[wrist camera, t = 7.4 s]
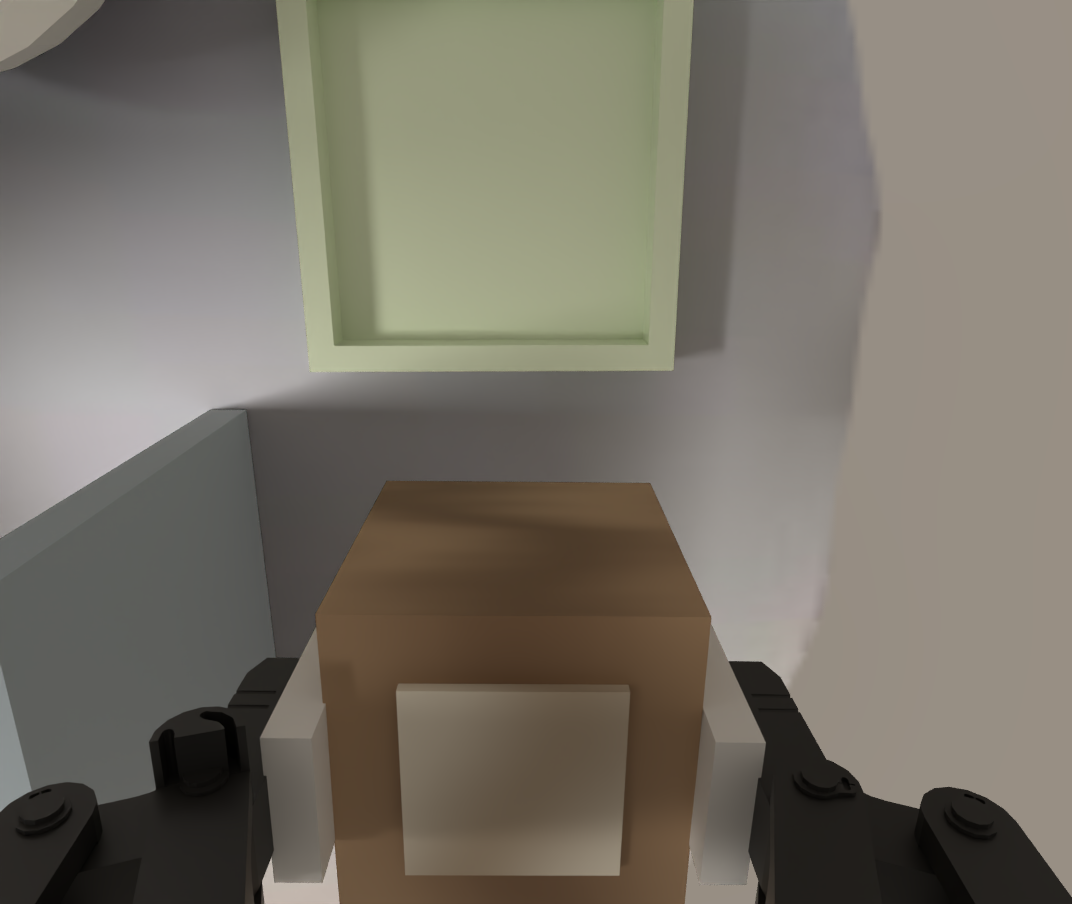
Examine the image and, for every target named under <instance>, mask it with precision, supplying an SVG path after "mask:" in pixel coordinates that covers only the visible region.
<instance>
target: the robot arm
mask: <svg viewBox="0 0 1072 904" xmlns="http://www.w3.org/2000/svg"><path fill="white" fill-rule="evenodd" d="M149 748H150V754H151V761H152V767H153V774H154V780H155V787H156V790H154V791H152V792H150V793H147V794H143V795H140V796H136V797H132V798H128V799H123V800H119V801H114V802H109V803H105V804H100V805H98V803H97V798H96V795H95V792H94V790H93V789H91V788H90V787H88V786H86V785H85V784H82V783H73V782H64V783H58V784H51V785H47V786H44V787H41V788H39V789H36V790H33V791H31V792H28V793H26V794H24V795H23V796H21V797H19V798H18V799H16V800H14V801H13V802H11V803H9V804H8V805H7V806H6V807H5V808H4V809H3V810H2V811H1V812H0V904H264V896H263V886H262V880H263V877H264V875H265V872H266V870H267V867H268V864H269V862H270V859H271V857H272V864H273V874H274V882H287V883H322V882H323V879H324V876H325V872H326V869H327V866H328V862H329V859H330V856H331V852H332V849H333V846H334V843H335V832H334V818H333V803H332V789H331V775H330V760H329V746H328V732H327V717H326V703H323V701H322V690H321V678H320V666H319V655H318V643H317V631H316V628H315V630H314V632H313V634H312V636H311V638H310V640H309V642H308V644H307V646H306V648H305V649H304V651H303V653H302V655H301V657H300V658H266V659H265V660H263V661H262V662H261V663H259V664H258V665H257V666H255V667H254V668H253V669H251V670H250V671H249V672H248V673H247V674H246V675H245V677H244V679H243V680H242V682H241V684H240V685H239V687H238V689H237V690H236V694H234V695H233V697H232V699H231V700H230V702H229V704H228V708H224V707H220V706H215V707H201V708H197V709H193V710H189V711H186V712H183V713H181V714H179V715H177V716H175V717H173V718H171V719H169V720H167V721H166V722H165V723H163V724H162V725H161V726H160V727H159V728H158V729H156V730H155V732H154V733H153V735H152V737H151V739H150V741H149ZM689 847H690V850H691V854H692V858H693V862H694V866H695V869H696V873H697V877H698V881H699V884H700V885H701V884H702V885H746V883H747V876H748V869H749V861H750V858H751V861H752V864H753V866H754V869H755V872H756V875H757V878H758V881H759V882H758V887H757V894H756V901H755V904H1072V897H1071V896H1070V894H1069V893H1068V892H1067V890H1066V889H1065V888H1064V886H1063V885H1062V883H1061V882H1060V881H1059V879H1058V878H1057V877H1056V875H1055V874H1054V872H1053V871H1052V870H1051V868H1050V867H1049V866H1048V864H1047V863H1046V862H1045V860H1044V859H1043V857H1042V856H1041V855H1040V853H1039V852H1038V851H1037V849H1036V848H1035V847H1034V845H1033V844H1032V842H1031V841H1030V840H1029V839H1028V837H1027V836H1026V834H1025V833H1024V831H1023V830H1022V829H1021V827H1020V826H1019V825H1018V823H1017V822H1016V821H1015V820H1014V819H1013V818H1012V817H1011V816H1010V815H1009V814H1008V813H1007V812H1006V811H1005V810H1004V809H1003V808H1001V807H1000V806H998V805H997V804H995V803H994V802H992V801H990V800H989V799H987V798H985V797H983V796H981V795H978V794H976V793H973V792H970V791H968V790H963V789H957V788H952V787H943V788H934V789H932V790H930V791H929V792H927V793H925V794H924V796H923V799H922V801H921V804H920V809H917V808H913V807H909V806H905V805H900V804H896V803H892V802H888V801H884V800H881V799H878V798H875V797H871V796H869V795H867V794H865V793H863V790H862V788H861V786H860V784H859V782H858V781H857V780H856V779H855V778H854V777H853V775H851V773H849V771H847V770H846V769H844V768H843V767H841V766H839V765H837V764H836V763H834V762H832V761H829V760H826V758H825V756H824V755H823V753H822V751H821V749H820V747H819V746H818V744H817V742H816V740H815V738H814V737H813V735H812V733H811V731H810V729H809V728H808V726H807V724H806V722H805V721H804V719H803V717H802V715H801V713H798V708H797V706H796V704H795V703H794V701H793V699H792V698H790V694H789V692H788V690H787V688H786V686H785V685H784V683H783V681H782V679H781V677H780V676H778V675H777V674H776V673H775V672H773V671H772V670H771V669H770V668H768V667H767V666H766V665H765V664H764V663H762V662H743V661H728V659H727V657H726V655H725V653H724V651H723V649H722V646H721V644H720V642H719V640H718V638H717V636H716V633H715V631H714V629H713V627H712V625H711V626H710V637H709V647H708V658H707V669H706V679H705V690H704V701H703V712H702V722H701V733H700V744H699V754H698V765H697V775H696V784H695V794H694V803H693V812H692V821H691V831H690V840H689Z"/></svg>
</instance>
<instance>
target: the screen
mask: <svg viewBox="0 0 1072 904" xmlns="http://www.w3.org/2000/svg"><path fill="white" fill-rule="evenodd" d="M266 658H276V654H275V646H274V638H273V629H272V621H271V612H270V604H269V596H268V587H267V579H266V571H265V562H264V554H263V545H262V537H261V529H260V520H259V512H258V504H257V495H256V487H255V479H254V470H253V462H252V453H251V445H250V437H249V428H248V420H247V412H246V410H209V411H207V412H206V413H204V414H202V415H201V416H199V417H197V418H196V419H194V420H193V421H191V422H189V423H188V424H186V425H184V426H183V427H181V428H180V429H178V430H176V431H175V432H173V433H171V434H170V435H168V436H167V437H165V438H163V439H162V440H160V441H158V442H157V443H155V444H154V445H152V446H150V447H149V448H147V449H145V450H144V451H142V452H140V453H139V454H137V455H136V456H134V457H132V458H131V459H129V460H127V461H126V462H124V463H123V464H121V465H119V466H118V467H116V468H114V469H113V470H111V471H110V472H108V473H106V474H105V475H103V476H101V477H100V478H98V479H97V480H95V481H93V482H92V483H90V484H88V485H87V486H85V487H84V488H82V489H80V490H79V491H77V492H75V493H74V494H72V495H71V496H69V497H67V498H66V499H64V500H62V501H61V502H59V503H57V504H56V505H54V506H53V507H51V508H49V509H48V510H46V511H44V512H43V513H41V514H40V515H38V516H36V517H35V518H33V519H31V520H30V521H28V522H27V523H25V524H23V525H22V526H20V527H18V528H17V529H15V530H14V531H12V532H10V533H9V534H7V535H5V536H4V537H2V538H1V539H0V812H1V811H2V810H3V809H4V808H5V807H6V806H7V805H8V804H9V803H11V802H13V801H14V800H16V799H18V798H19V797H21V796H23V795H24V794H26V793H28V792H31V791H33V790H36V789H39V788H41V787H44V786H47V785H51V784H58V783H64V782H73V783H82V784H85V785H86V786H88V787H90V788H91V789H93V790H94V792H95V795H96V798H97V803H98V805H100V804H105V803H109V802H114V801H119V800H123V799H128V798H132V797H136V796H140V795H143V794H147V793H150V792H152V791H154V790H156V787H155V780H154V774H153V767H152V761H151V754H150V748H149V741H150V739H151V737H152V735H153V733H154V732H155V730H156V729H158V728H159V727H160V726H161V725H162V724H163V723H165V722H166V721H167V720H169V719H171V718H173V717H175V716H177V715H179V714H181V713H183V712H186V711H189V710H193V709H197V708H201V707H215V706H220V707H224V708H228V704H229V702H230V700H231V699H232V697H233V695H234V694H236V690H237V689H238V687H239V685H240V684H241V682H242V680H243V679H244V677H245V675H246V674H247V673H248V672H249V671H250V670H251V669H253V668H254V667H255V666H257V665H258V664H259V663H261V662H262V661H263V660H265V659H266Z"/></svg>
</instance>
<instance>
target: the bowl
mask: <svg viewBox="0 0 1072 904" xmlns="http://www.w3.org/2000/svg"><path fill="white" fill-rule="evenodd" d="M104 1H105V0H0V72H2V71H6V70H10V69H13V68H16V67H18V66H20V65H22V64H23V63H25V62H27V61H29V60H31V59H33V58H35V57H37V56H39V55H40V54H42V53H44V52H46V51H48V50H50V49H52V48H54V47H56V46H57V45H59V44H61V43H62V42H63V41H64V40H65V39H66V38H67V37H68V36H70V35H71V34H72V33H73V32H74V31H75V30H76V29H77V28H79V27H80V26H81V25H82V24H83V23H84V22H85V21H86V20H88V19H89V18H90V17H91V16H92V15H93V14H94V13H95V12H97V11H98V10H99V9H100V7H101V6H102V4H103V3H104Z"/></svg>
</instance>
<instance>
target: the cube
mask: <svg viewBox="0 0 1072 904" xmlns="http://www.w3.org/2000/svg"><path fill="white" fill-rule="evenodd" d="M315 619H316V631H317V643H318V655H319V666H320V678H321V690H322V701H323V703H326V717H327V732H328V746H329V760H330V775H331V789H332V803H333V818H334V832H335V854H336V866H337V877H338V889H339V901H340V904H684V903H685V893H686V882H687V872H688V861H689V851H690V847H689V840H690V831H691V821H692V812H693V803H694V794H695V784H696V775H697V765H698V754H699V744H700V733H701V722H702V712H703V701H704V690H705V679H706V669H707V658H708V647H709V637H710V626H711V615H710V613H709V611H708V609H707V607H706V604H705V602H704V600H703V598H702V596H701V593H700V591H699V589H698V587H697V585H696V582H695V580H694V578H693V576H692V574H691V572H690V569H689V567H688V565H687V563H686V561H685V558H684V556H683V554H682V552H681V550H680V547H679V545H678V543H677V541H676V539H675V536H674V534H673V532H672V530H671V528H670V526H669V523H668V521H667V519H666V517H665V515H664V512H663V510H662V508H661V506H660V504H659V501H658V499H657V497H656V495H655V493H654V490H653V488H652V486H651V484H650V483H591V482H475V481H386V483H385V485H384V487H383V489H382V490H381V492H380V494H379V496H378V498H377V500H376V502H375V504H374V505H373V507H372V509H371V511H370V513H369V515H368V517H367V518H366V520H365V522H364V524H363V526H362V528H361V530H360V532H359V533H358V535H357V537H356V539H355V541H354V543H353V545H352V547H351V548H350V550H349V552H348V554H347V556H346V558H345V560H344V562H343V563H342V565H341V567H340V569H339V571H338V573H337V575H336V577H335V578H334V580H333V582H332V584H331V586H330V588H329V590H328V591H327V593H326V595H325V597H324V599H323V601H322V603H321V605H320V606H319V608H318V610H317V612H316V614H315Z"/></svg>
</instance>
